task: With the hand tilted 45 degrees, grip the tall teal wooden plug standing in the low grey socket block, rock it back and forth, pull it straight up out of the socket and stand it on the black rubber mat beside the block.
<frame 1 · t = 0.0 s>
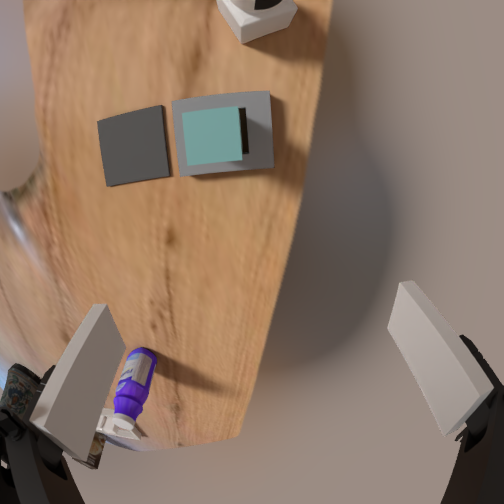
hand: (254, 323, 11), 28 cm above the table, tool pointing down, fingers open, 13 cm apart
socket block: (224, 132, 33), on the table
beer stein: (32, 379, 60), on the table
medicine bottle: (253, 17, 26), on the table
bottle: (143, 355, 51), on the table
mat: (132, 146, 33), on the table
coffee box: (94, 431, 73), on the table
holder frame: (106, 419, 66), on the table
plug: (219, 133, 26), in the socket block
napkin holder: (106, 417, 67), on the table, touching holder frame
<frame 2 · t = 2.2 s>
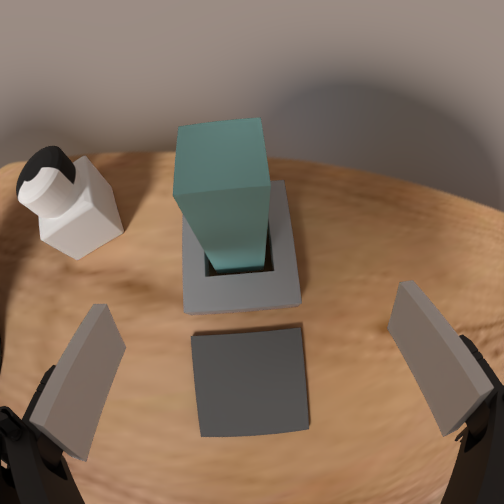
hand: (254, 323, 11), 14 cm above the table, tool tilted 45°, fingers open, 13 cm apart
socket block: (238, 250, 27), on the table
medicine bottle: (94, 223, 28), on the table
mat: (250, 385, 23), on the table
plug: (232, 217, 20), in the socket block
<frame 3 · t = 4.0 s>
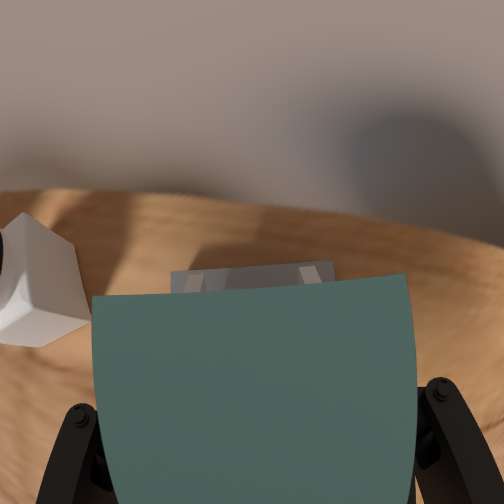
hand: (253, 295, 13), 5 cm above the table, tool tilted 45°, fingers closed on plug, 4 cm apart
socket block: (258, 363, 17), on the table
medicine bottle: (56, 297, 19), on the table
plug: (258, 379, 10), in the socket block, touching gripper
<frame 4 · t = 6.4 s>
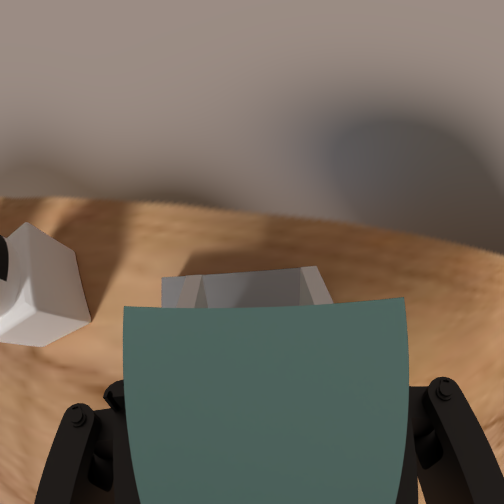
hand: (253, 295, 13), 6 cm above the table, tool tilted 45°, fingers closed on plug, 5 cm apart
socket block: (244, 363, 18), on the table
medicine bottle: (58, 300, 20), on the table
plug: (256, 381, 10), in the socket block, point 8 cm above the table, touching gripper
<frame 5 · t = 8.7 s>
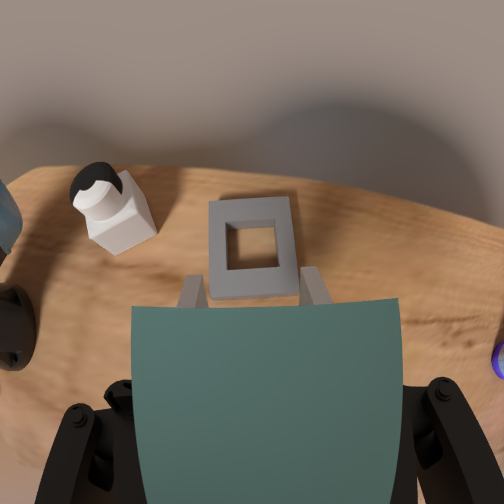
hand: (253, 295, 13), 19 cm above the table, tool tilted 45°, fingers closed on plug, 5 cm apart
socket block: (252, 250, 34), on the table
medicine bottle: (130, 225, 36), on the table
bottle: (499, 360, 27), on the table
plug: (256, 380, 10), point 21 cm above the table, touching gripper
when the fingers open (7 cm above the table, at t = 11.3 s): plug stays where it is, resting on mat.
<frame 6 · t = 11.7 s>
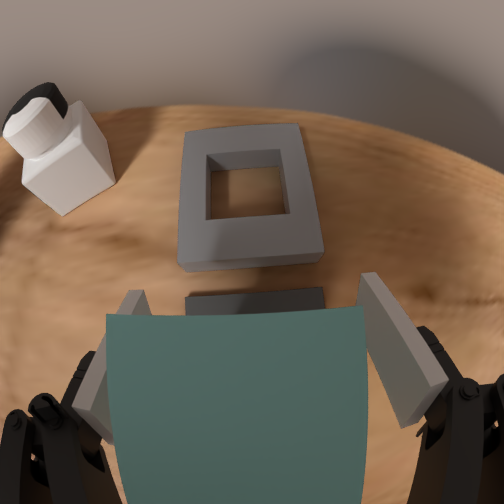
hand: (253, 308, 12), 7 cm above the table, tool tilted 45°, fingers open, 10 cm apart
socket block: (246, 197, 22), on the table
medicine bottle: (85, 178, 24), on the table
mat: (258, 362, 18), on the table
plug: (250, 381, 11), on the mat
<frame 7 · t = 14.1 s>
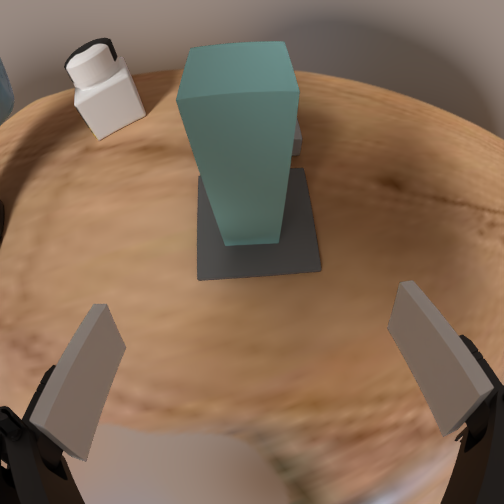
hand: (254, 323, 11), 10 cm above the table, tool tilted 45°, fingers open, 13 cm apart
medicine bottle: (119, 116, 30), on the table
mat: (255, 220, 24), on the table
plug: (246, 167, 16), on the mat
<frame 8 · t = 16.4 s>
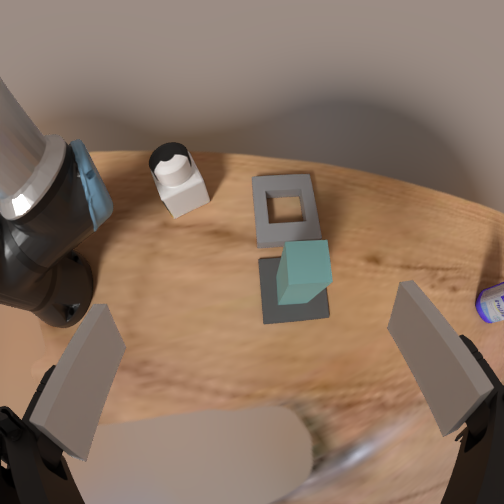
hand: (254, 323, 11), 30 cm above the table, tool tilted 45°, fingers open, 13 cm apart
socket block: (284, 212, 46), on the table
medicine bottle: (185, 196, 47), on the table
bottle: (483, 307, 39), on the table
mat: (293, 288, 42), on the table
plug: (298, 278, 34), on the mat
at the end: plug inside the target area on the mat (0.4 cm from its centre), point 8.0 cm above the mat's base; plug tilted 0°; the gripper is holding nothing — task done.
